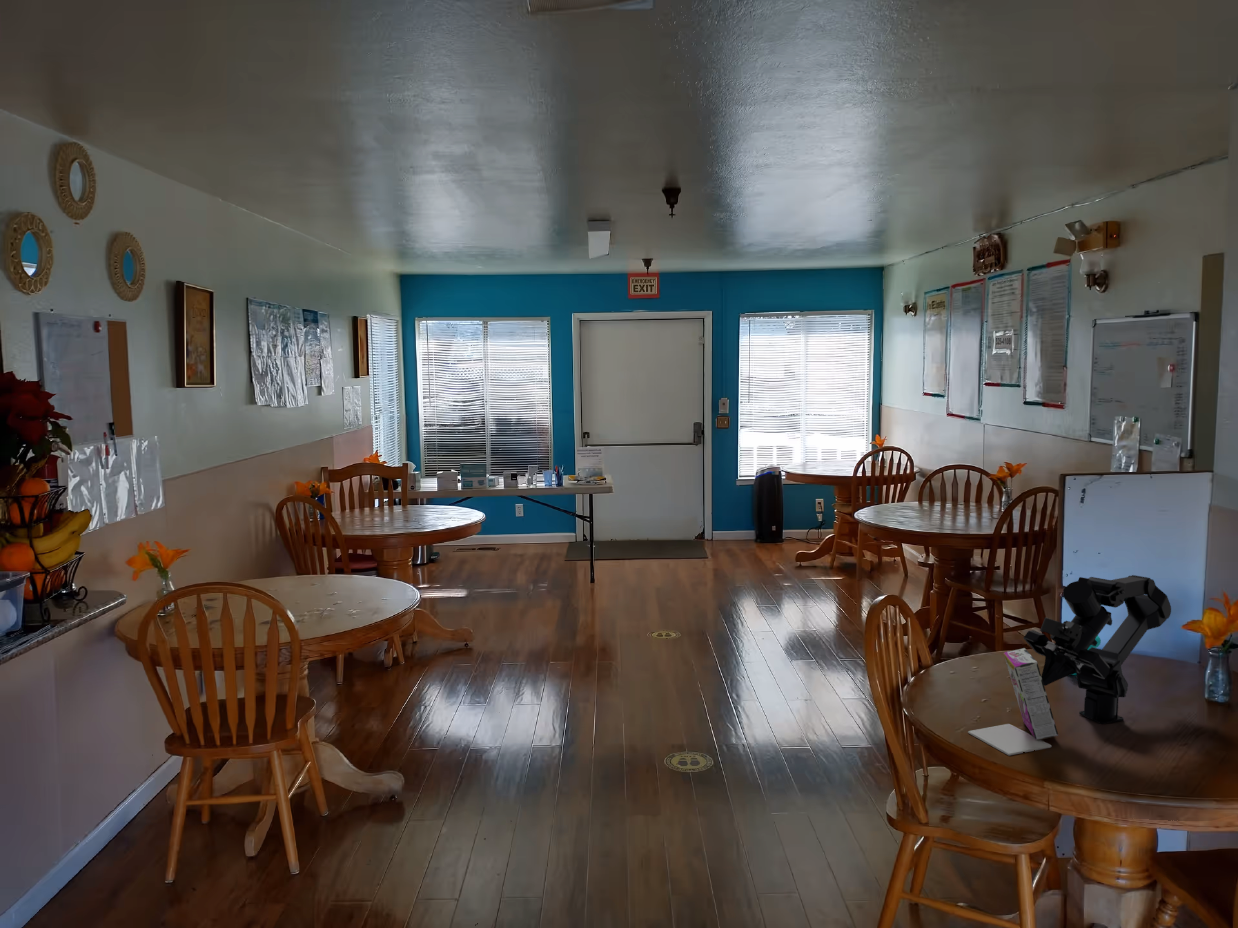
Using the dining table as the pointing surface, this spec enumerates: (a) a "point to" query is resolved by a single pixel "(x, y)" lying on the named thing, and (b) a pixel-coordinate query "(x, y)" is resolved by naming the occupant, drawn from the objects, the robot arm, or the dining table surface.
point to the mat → (1009, 739)
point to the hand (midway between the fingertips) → (1042, 683)
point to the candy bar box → (1031, 694)
